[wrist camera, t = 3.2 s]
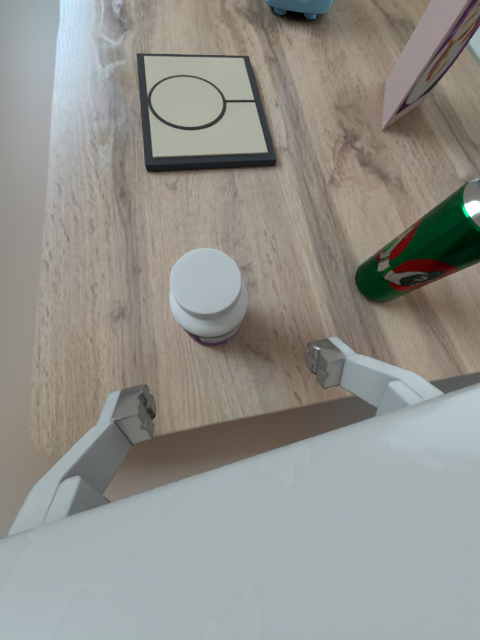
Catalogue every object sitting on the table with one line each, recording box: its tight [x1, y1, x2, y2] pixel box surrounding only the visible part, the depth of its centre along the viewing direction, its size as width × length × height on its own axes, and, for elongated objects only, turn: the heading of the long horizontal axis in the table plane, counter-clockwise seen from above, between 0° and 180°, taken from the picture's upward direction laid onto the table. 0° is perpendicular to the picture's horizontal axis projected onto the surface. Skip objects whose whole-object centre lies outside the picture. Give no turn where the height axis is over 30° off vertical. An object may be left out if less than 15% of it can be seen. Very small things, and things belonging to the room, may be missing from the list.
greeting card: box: [382, 0, 480, 130], centre depth 24 cm, size 11×7×15 cm, turn 131°
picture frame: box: [137, 54, 277, 172], centre depth 27 cm, size 16×20×1 cm
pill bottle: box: [169, 248, 248, 347], centre depth 16 cm, size 5×5×10 cm
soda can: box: [355, 178, 480, 302], centre depth 17 cm, size 5×5×12 cm
